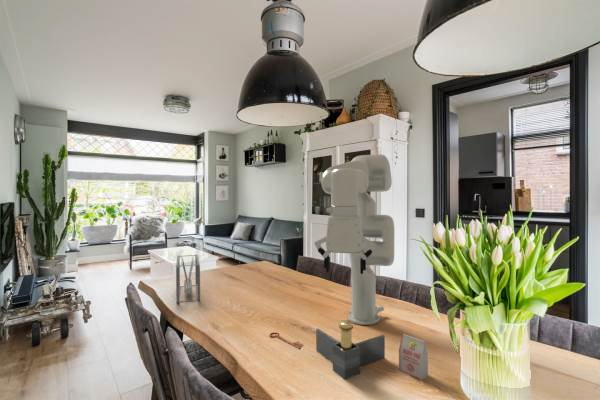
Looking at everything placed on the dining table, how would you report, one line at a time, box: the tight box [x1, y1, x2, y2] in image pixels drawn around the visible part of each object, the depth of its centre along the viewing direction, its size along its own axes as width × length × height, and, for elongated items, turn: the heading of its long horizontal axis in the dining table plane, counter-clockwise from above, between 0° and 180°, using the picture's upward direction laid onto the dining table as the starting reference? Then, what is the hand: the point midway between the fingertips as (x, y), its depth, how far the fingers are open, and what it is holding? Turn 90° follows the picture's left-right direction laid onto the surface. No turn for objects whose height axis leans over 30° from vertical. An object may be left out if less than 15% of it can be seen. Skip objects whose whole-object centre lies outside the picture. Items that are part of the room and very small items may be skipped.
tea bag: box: [398, 333, 429, 381], centre depth 89 cm, size 4×7×10 cm, turn 42°
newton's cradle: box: [175, 253, 201, 304], centre depth 161 cm, size 30×10×18 cm, turn 20°
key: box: [269, 332, 305, 350], centre depth 109 cm, size 6×1×15 cm
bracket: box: [315, 328, 386, 380], centre depth 98 cm, size 17×17×8 cm
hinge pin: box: [338, 319, 354, 351], centre depth 89 cm, size 4×4×14 cm
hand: (344, 271), depth 90 cm, fingers open, 9 cm apart
